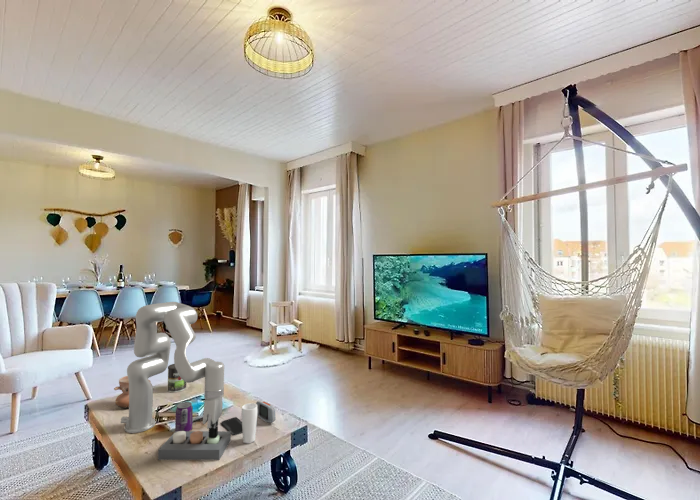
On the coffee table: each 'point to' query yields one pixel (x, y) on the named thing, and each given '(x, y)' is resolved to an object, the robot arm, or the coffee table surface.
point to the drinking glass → (249, 422)
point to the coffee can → (175, 380)
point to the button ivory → (179, 437)
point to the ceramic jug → (124, 397)
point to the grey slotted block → (195, 448)
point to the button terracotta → (196, 437)
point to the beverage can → (184, 417)
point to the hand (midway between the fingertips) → (213, 436)
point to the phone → (233, 425)
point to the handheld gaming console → (265, 411)
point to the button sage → (213, 440)
